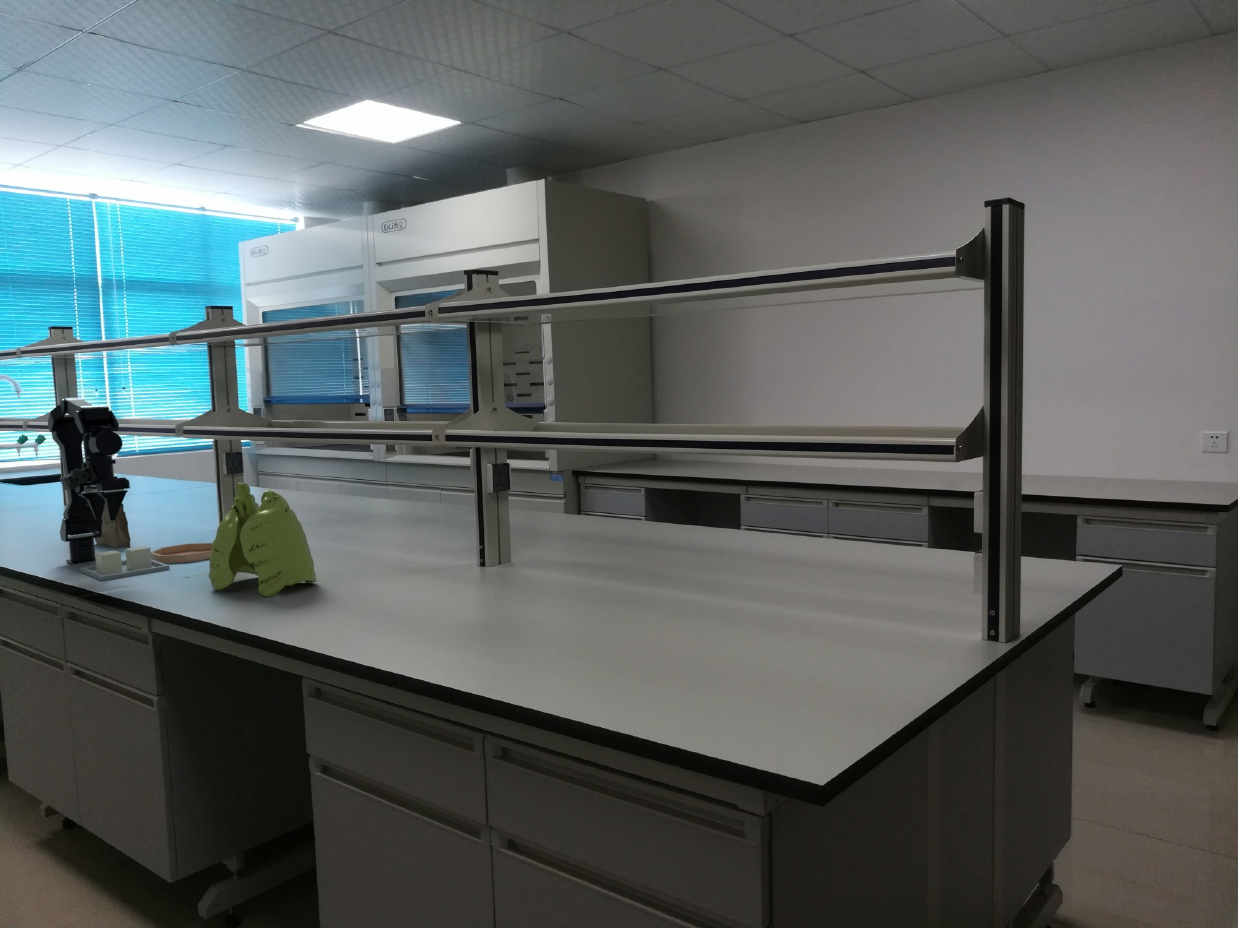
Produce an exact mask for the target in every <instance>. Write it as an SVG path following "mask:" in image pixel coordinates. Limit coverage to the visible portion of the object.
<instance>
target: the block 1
mask: <svg viewBox="0 0 1238 928" xmlns="http://www.w3.org/2000/svg"><path fill="white" fill-rule="evenodd" d="M95 557H96V561H95V565H96V567H97V573H99V574H102V575H110V574H116V573H122V572H123V571H122V561H123V560H122V552H120V551H117V550H109V551H102V552H97V553H96V552H95Z"/></svg>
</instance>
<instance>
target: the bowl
mask: <svg viewBox="0 0 1238 928" xmlns="http://www.w3.org/2000/svg"><path fill="white" fill-rule="evenodd" d="M212 546H213V542H195V543H193V542H192V543H191V542H190V543H188V542H187V543H181V544H176V545H168V546H162V547H160V548H157V549H155V550H151V559H152V560H155V561H158V562H161V563H164V564H181V563H182V564H183V563H191V562H200V561H206V560H209V556H210V554H211V549H212Z"/></svg>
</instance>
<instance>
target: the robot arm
mask: <svg viewBox="0 0 1238 928" xmlns="http://www.w3.org/2000/svg"><path fill="white" fill-rule="evenodd" d="M47 426H48V427H47V428H48V431H49V432H50V433H51V438H52V440H53V441H54V442H55V444H56V445H58V447H59V448H60V450H61V456H62V464H63V470H64V476H61V477H59V478H58V479H59V481H60V483H61V484H62V487H63V488H64V490H65V491H66V492H67V499H68V503H67V505H66V507H65V509H64V511H63V513H62V515H63V519H62V520H61V525H60V529H59V530H60V531H59V534H60V541H63V542H64V543H68V546H69V557H70V559H66V560H65V562H66V563H68V564H70V565H78V564H83V563H91V562H96V556H95V553H96V548H95V538H97V537H101V536H102V523H103V520H102V519H101V518H102V515H103V510H104V506H105V504H106V508H107V511H108V515H109V518H110V520H111V521H112V520H116V517H117V515H118V512H119V509H120V507H121V504H123V501H124V499H125V497H126V494H127V493H128V492H129V490H127V489H131V486H130V485H131V484H130V480H129V479H128V478H126V477H118V476H117V475H115V472H114V470H115V469H114V464H117V462H116V459H113V455H116V454H118V453H119V452H120V451H121V449H122V447H123V439H122V437H121V436H120V435H119V434H118V433H117V432H118V431H119V426H120V424H119V422H118V420H117V416H116V415H115V413H114V412H113V411H112V409H111V408H110V407H109V406H108V405H106V404H99V405H93V404H91V403H90V402H88V401H86V400H85V399H84V398H82V397H64V398H61V399H60V402H59V404H58V405H57V406H55V407H54V408H53V409H51V410H50V412H49V414H48V419H47ZM82 443H83V451H84V453H83V451H82ZM83 454H84V458H83ZM84 460H85V461H84Z"/></svg>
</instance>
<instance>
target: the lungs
mask: <svg viewBox="0 0 1238 928" xmlns="http://www.w3.org/2000/svg"><path fill="white" fill-rule="evenodd" d="M235 488H236V491H237V494H236V496H235V497H233V499H232V500H233V504H232V506H230V507H228V509H229V511H228V513H226V515H225V516H224V517H223V519H222V520H221V522H220V523H219V525H218V526H217V530H216V534H215V538H214V540H212V543H213V546H212V549H211V554H210V556H209V559H208V560H209V567H208V568H209V572H208V579H209V580H210V583H211V587H212V588H213V589H214V590H215V591H222V590H223V589H226V588H228V587H229V586H231V585H232V584H233V583H234V581H235V578H236V576H237V574H238V573H245V574H251V575H255V576H257V577H258V593H259V595H260V596H263V597H266V598H271V597H272V596H273V597H274V596H275V595H276V594H278V593H279V592H280V591H281V590H283V588H285V586H293V585H297V584H298V583H303V582H305V583H306V584H307V583H310V584H312V583H317V574H316V571H315V565H314V559H313V556H312V554H311V553H312V552H311V548H310V545H309V542H308V540H307V536H306V532H305V530H304V529H303V526H302V523H301V522H300V521H299V518H298V517H297V514H296V512H295V511H294V510H293V509H291V508H290V505H289V503H288V501H287V500H286V499H285V498H284V496H283V495H281V494H279V493H277V492H276V491H274V490H271V489H267V490H265V491H264V492H262V495H261V498H260V501H261V503H260V504H259V503H257V502H256V497H255V496H254V494H252V493H251V487H250V485H248V483H247V482H237V483H235Z"/></svg>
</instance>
